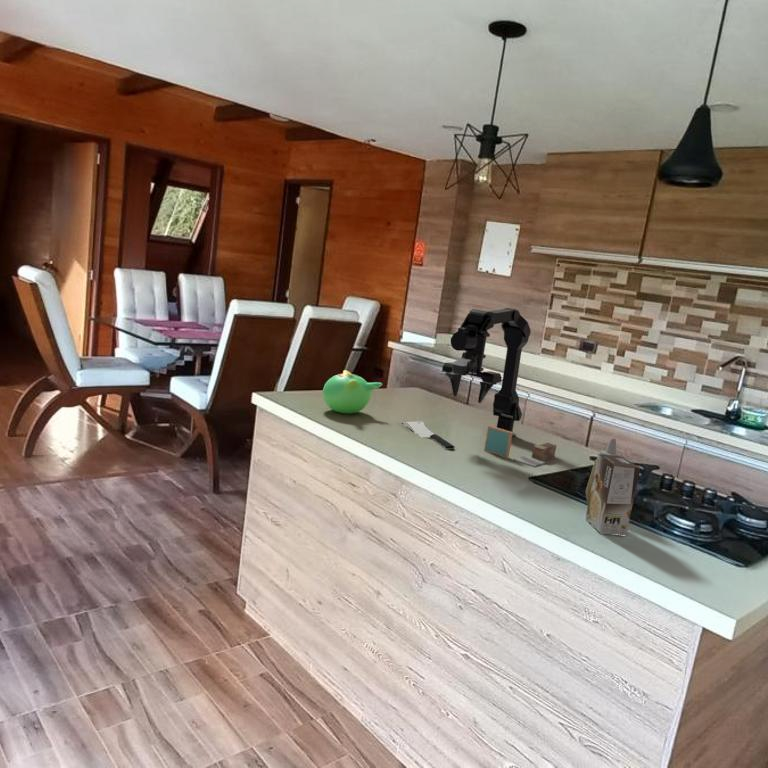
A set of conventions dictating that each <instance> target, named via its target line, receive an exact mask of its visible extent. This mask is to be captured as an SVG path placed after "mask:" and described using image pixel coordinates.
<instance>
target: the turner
mask: <svg viewBox="0 0 768 768" xmlns="http://www.w3.org/2000/svg"><path fill="white" fill-rule="evenodd" d="M556 449H557V444H553V443H550V442H546V443H542V444H538V445H534V446H533V447H532V452H531V456H529V455H523V456H519V457H516V458H513V461H514V462H516V463H520V464H523V465H526V466H529V467H532V468H537V467H539V465H540V466H542V464H543V465H546V464H547V461H546V459H547V460H550V459H552V458H555V456H556V455H555V454H556ZM549 458H550V459H549ZM545 463H546V464H545Z"/></svg>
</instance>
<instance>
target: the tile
mask: <svg viewBox="0 0 768 768" xmlns="http://www.w3.org/2000/svg"><path fill="white" fill-rule="evenodd" d="M512 434H514V431H513V432H510V431H507V430H503V429H500V428H497V426H492V425H488V426H487V431H486V438H485V444H484V448H483V451H485V452H487V453H491V454H494V455H497V456H499V457H503V458H506V459H508V458H509V457H510V450H511V445H512V439H513V436H512Z"/></svg>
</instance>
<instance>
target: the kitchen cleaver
mask: <svg viewBox="0 0 768 768" xmlns="http://www.w3.org/2000/svg"><path fill="white" fill-rule="evenodd" d="M405 422H406V423H408V424H409V425H410V426H411V427H412V428H413V430H414V431H415V433H417V434H419V436H420V437H421V438H423V439H430V440H433V441H434V442H435V443H437V444H438V445H440V446H441V447H442V448H443V449H444V450H447V451H454V450H455V448H456V447H455V446H454V445H453V444H452V443H450V442H448V441H447V440H445V439H444V438H442V437H441V436H439V435H438V434H436V433H434V432H432V431H431V430H430V429H428V427H427V426H426V424H425V423H424V421H422V420H421V421H419V420H418V421H405ZM415 433H414V434H415ZM419 436H418V437H419ZM420 437H419V438H420ZM421 438H420V439H421Z"/></svg>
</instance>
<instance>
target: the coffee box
mask: <svg viewBox="0 0 768 768" xmlns="http://www.w3.org/2000/svg"><path fill="white" fill-rule="evenodd" d="M596 457H597V458H596V459H597V462H596V467H595V472H594V477H593V482H592V488H591V493H590V498H589V503H588V506H587V509H586V514H585V518H586V519H587V520H588V521H589V522H590V523H591V524H592V525H593V526H594V527H593V526H592V525H591V524H590V523H589V522H588V521H587V520H586V519H585V520H586V521H587V522H588V523H589V524H590V525H591V526H592V527H593V529H595V528H596V529H597V530H598V531H599V532H600V533H602V534H601V535H604V534H618V535H619V534H620V535H626V536H627V533H628V529H629V523H630V518H631V514H632V513H631V512H632V508H633V504H634V499H635V494H636V489H637V485H638V480H639V477H640V471H641V470H640V469H641V468H640V467H639V466H637V465H636V464H634V463H633V462H631V461H630V460H628V459H627V458H625V457H624V456H621V455H620V456H614V455H602V454H600V453H598V454H597V456H596ZM596 529H595V530H596ZM597 530H596V531H597ZM598 531H597V532H598ZM599 532H598V533H599ZM600 533H599V534H600Z"/></svg>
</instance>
